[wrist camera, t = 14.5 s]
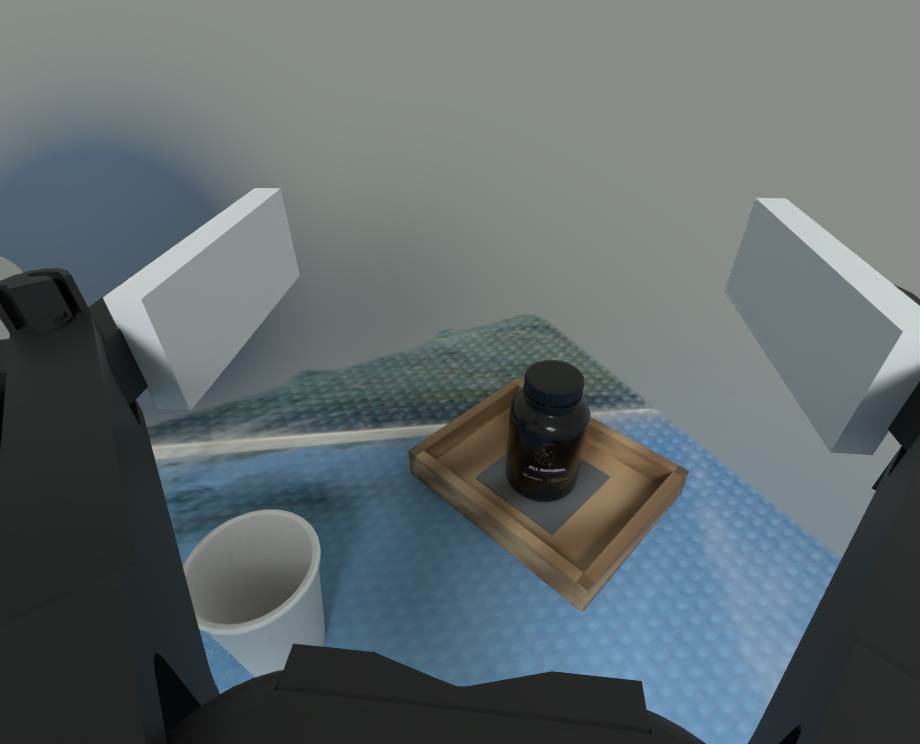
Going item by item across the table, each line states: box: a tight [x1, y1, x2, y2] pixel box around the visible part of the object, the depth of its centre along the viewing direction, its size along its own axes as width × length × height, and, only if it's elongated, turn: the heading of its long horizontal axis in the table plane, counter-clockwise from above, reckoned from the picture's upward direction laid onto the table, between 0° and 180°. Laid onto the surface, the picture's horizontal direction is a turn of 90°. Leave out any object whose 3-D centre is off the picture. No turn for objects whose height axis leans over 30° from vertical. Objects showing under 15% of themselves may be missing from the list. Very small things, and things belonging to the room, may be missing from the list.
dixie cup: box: [183, 509, 325, 677], centre depth 34 cm, size 8×8×10 cm
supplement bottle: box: [505, 360, 590, 502], centre depth 44 cm, size 7×7×12 cm
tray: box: [409, 377, 689, 612], centre depth 48 cm, size 20×16×3 cm
